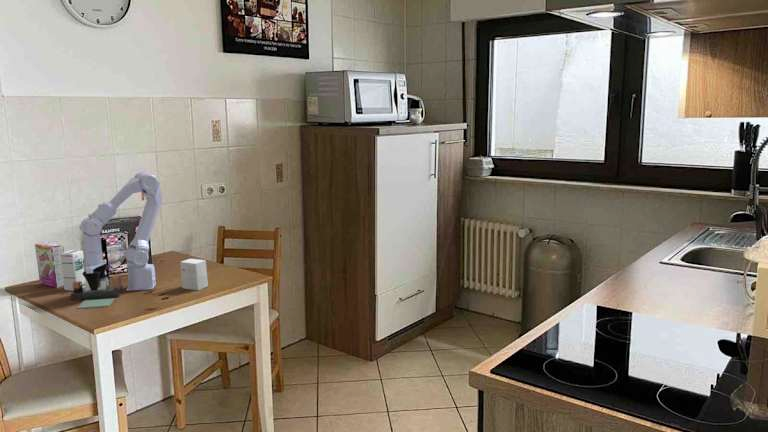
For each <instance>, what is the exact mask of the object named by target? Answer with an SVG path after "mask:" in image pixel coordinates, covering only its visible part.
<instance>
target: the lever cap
mask: <svg viewBox="0 0 768 432" xmlns="http://www.w3.org/2000/svg"><path fill="white" fill-rule="evenodd" d="M84 283H85V292H86V291H91V289H90V287H89V284H88V282H87V281H85V282H84ZM109 286H110V283H109V277H107V276H104V277H99V280H98V290H95V291H101V290H107V289H108V287H109Z"/></svg>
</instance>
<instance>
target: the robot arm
mask: <svg viewBox="0 0 768 432" xmlns="http://www.w3.org/2000/svg"><path fill="white" fill-rule="evenodd" d="M137 193H142V194H143V195H144V196H145V198H146V202H145V205H144V208H143V209H142V214H141V217H140V219H139V223H138V226H137V229H136V232H135V236H134V237H133V239H132V240H131V241H130V243H129V246H128V247H127V248H126V249H125V251H124V253H123V254H124V258H125V259H126V261H127V264H126V269H127V280H128V286H127V288H126V289H125V290H126V291H128V292H130V291H131V292H132V291H143V290H144V291H145V290H146V291H147V290H153V289H154V287H156V285H157V282H156V269H155V265H154V264H153V263H148V262H149V257H150V256H149V250H150V244H149V242H150V238H151V235H152V233H153V229H154V226H155V223H156V220H157V218H158V214H159V211H160V208H161V205H162V201H163V193H162V189H161V182H160V180H159V179H158V177H157V176H156V175H154V174H152V173H146V172H144V171H143V172H141V171H140V172H138V173H136V174H135V175H134V176H133V177H131V178H130V179H129V180H128V181H127V182H126V184H125V185H123V187H122V188H121V189H120V190H119V191H118V192H117V193H116V194H115V196H113V198H111V200H109V201H107V202H102V203H99V204H98V205H97V208H96V209H95V210H94V211H93V212H92V213H91V214H90V213H89V214H88V215H87V218H85V219H83V220H82V221H81V223H80V225H79V229H80V231H81V232H82V242H83V243H82V244H83V253H84V263H83V264H82V266H85V271H86V272H83V276H84V277H85V278H86V280H87V282H88V284H89V287H90V289H91V291H95V290H98V280H99V277H105V273H106V270H107V267H108V263H105V262H104V258H103V249H102V248H103V247H102V238H101V232H102V231H103V230H102V229H103V227H104V226H105V225H106V224H107V223H108V222H109V221H110V220H111V219H112V218H113V217H114V216H115V215H117V208H119V206H121V205H122V204H123V203H124V202H125V201H126V200H127V199H129V198H130V197H131V196H133V195H134V194H137Z"/></svg>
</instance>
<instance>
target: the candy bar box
mask: <svg viewBox="0 0 768 432" xmlns="http://www.w3.org/2000/svg"><path fill="white" fill-rule="evenodd" d="M34 248H35V255H36V256H35V257H36V263H37V270H38V278H39V279H38V280H39V284H40V285H41V286H47V287H51V288H56V289H58V288H62V287H64V282H63V274H62V267H61V260H60V254H61V253H65V251H64V250H65V249H64V245H63V244H59V243H54V242H48V241H44V242H39V243H36V244H34Z"/></svg>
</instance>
